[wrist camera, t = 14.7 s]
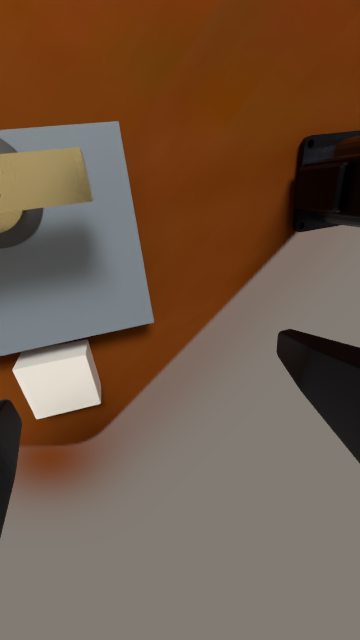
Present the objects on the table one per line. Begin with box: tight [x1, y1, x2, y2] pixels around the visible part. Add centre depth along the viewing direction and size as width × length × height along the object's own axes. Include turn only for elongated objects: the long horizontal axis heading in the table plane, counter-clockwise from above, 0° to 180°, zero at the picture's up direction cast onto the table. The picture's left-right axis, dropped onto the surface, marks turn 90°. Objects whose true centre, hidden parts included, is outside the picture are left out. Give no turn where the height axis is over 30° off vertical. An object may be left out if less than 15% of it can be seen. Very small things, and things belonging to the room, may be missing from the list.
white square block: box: [12, 339, 101, 419], centre depth 21 cm, size 5×5×3 cm
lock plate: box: [0, 121, 154, 356], centre depth 16 cm, size 15×12×3 cm
